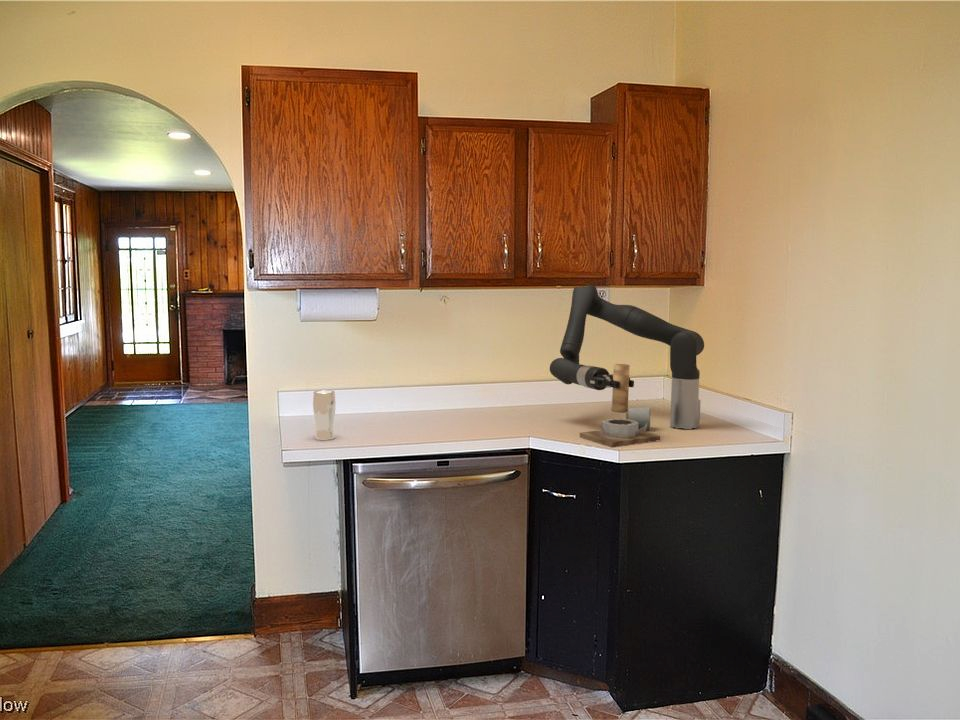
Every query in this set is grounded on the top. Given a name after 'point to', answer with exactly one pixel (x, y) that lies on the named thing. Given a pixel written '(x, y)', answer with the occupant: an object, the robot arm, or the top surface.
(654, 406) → the top surface
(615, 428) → the steel sleeve
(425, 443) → the top surface
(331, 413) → the beer glass
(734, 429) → the top surface
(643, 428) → the ceramic mug
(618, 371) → the oak peg
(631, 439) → the walnut board
